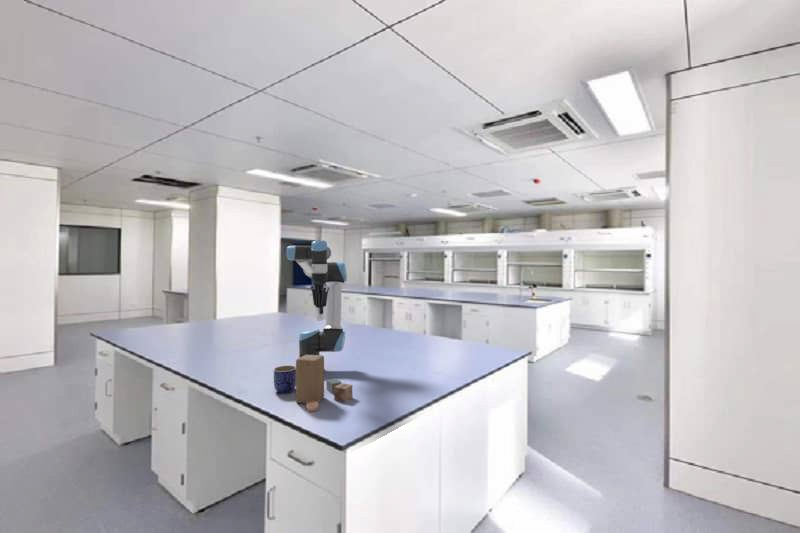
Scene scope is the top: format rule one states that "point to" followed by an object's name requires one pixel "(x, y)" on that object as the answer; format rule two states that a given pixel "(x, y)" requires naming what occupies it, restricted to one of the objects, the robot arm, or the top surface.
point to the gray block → (332, 384)
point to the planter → (285, 379)
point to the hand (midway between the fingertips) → (320, 320)
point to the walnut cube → (343, 392)
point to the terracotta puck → (312, 406)
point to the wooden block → (309, 378)
